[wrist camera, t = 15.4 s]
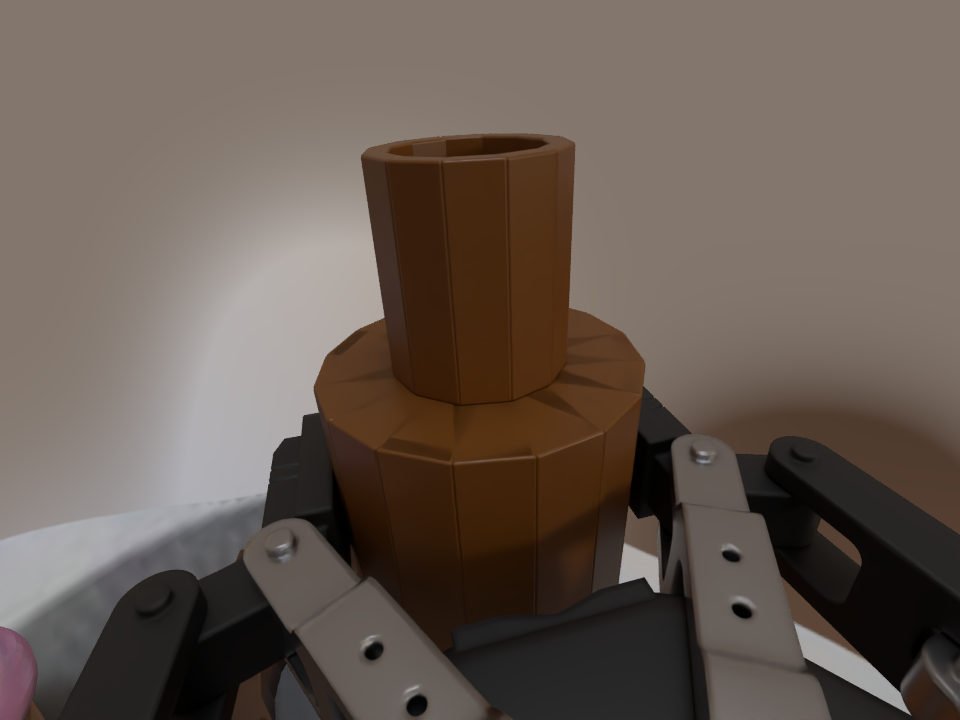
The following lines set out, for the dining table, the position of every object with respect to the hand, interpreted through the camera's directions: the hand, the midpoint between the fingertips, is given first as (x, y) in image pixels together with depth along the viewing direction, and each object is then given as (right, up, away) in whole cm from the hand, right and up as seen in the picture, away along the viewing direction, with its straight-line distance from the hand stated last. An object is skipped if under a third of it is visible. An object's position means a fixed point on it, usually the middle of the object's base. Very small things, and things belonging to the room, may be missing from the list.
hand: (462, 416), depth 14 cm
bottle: (+1, -10, +3) cm, 10 cm away
